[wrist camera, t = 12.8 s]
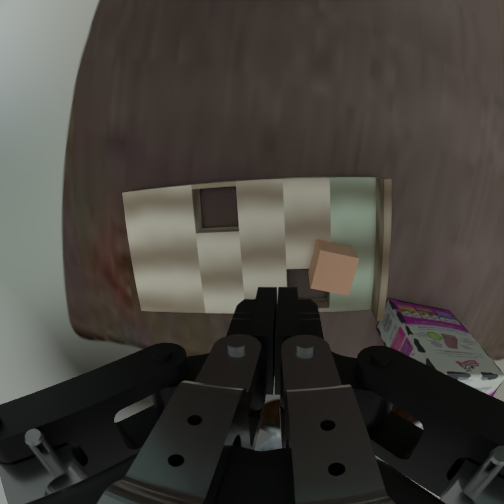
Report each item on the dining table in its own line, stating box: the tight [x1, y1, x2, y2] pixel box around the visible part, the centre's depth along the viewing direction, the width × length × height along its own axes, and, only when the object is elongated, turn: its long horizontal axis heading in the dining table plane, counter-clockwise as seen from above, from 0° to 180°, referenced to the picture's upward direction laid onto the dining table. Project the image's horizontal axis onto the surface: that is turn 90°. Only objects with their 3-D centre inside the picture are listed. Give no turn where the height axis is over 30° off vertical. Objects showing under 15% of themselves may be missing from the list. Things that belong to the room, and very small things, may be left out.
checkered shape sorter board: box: [122, 176, 392, 321], centre depth 34 cm, size 16×30×6 cm, turn 93°
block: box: [308, 239, 359, 296], centre depth 31 cm, size 4×4×4 cm
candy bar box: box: [377, 299, 504, 397], centre depth 29 cm, size 11×5×16 cm, turn 78°
